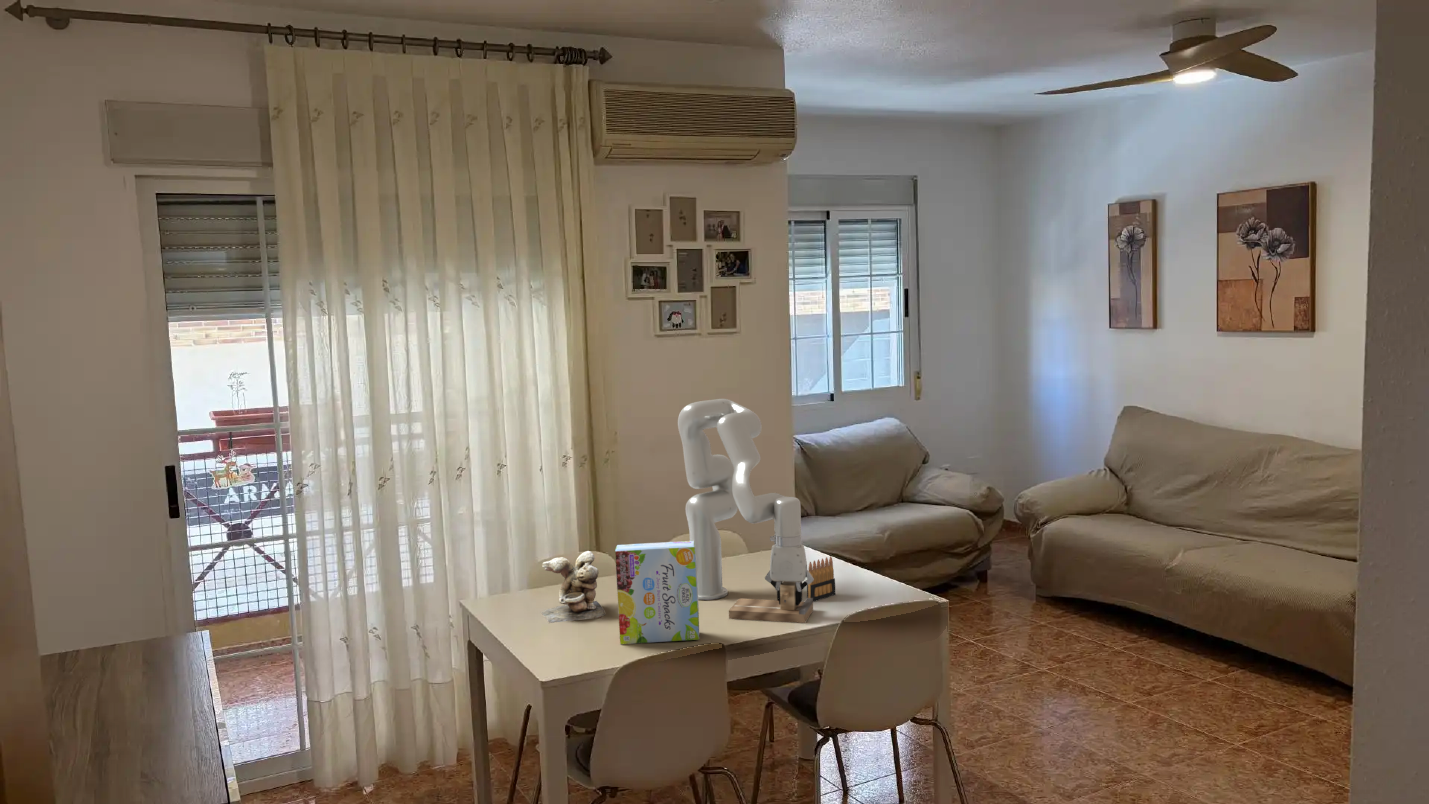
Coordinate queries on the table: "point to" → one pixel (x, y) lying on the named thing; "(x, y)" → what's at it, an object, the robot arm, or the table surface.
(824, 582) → the ammunition clip
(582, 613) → the cherub figurine
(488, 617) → the table surface
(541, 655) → the table surface
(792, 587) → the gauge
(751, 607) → the board
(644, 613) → the snack box
